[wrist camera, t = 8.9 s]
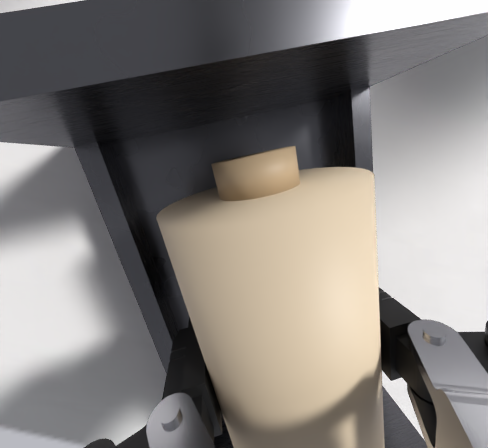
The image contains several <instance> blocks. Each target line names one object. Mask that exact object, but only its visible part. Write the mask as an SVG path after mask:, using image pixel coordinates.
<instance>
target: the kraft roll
mask: <svg viewBox="0 0 488 448" xmlns="http://www.w3.org/2000/svg"><path fill="white" fill-rule="evenodd" d="M211 165H212V169H213V173H214V177H215V181H216V185H217V187H215V188H212V189H208V190H205V191H202V192H199V193H196V194H194V195H191V196H188V197H186V198H183V199H181V200H179V201H176V202H174V203H172V204H170V205H169V206H167V207H165V208H164V209H163V210H161V211H160V212H159V213H158V214H157V217H156V219H157V222H158V225H159V228H160V231H161V234H162V236H163V239H164V242H165V245H166V248H167V251H168V254H169V257H170V260H171V263H172V266H173V269H174V272H175V275H176V278H177V281H178V284H179V287H180V290H181V293H182V296H183V299H184V302H185V305H186V308H187V311H188V314H189V317H190V320H191V322H192V325H193V328H194V331H195V334H196V337H197V340H198V343H199V346H200V349H201V352H202V355H203V358H204V361H205V364H206V367H207V370H208V373H209V376H210V379H211V382H212V385H213V388H214V391H215V393H216V396H217V399H218V402H219V405H220V408H221V411H222V414H223V417H224V420H225V423H226V426H227V429H228V432H229V435H230V438H231V441H232V444H233V447H234V448H385V444H384V418H383V392H382V366H381V339H380V313H379V287H378V261H377V234H376V208H375V182H374V174H373V173H372V172H371V171H369V170H366V169H363V168H355V167H325V168H312V169H303V170H298V163H297V155H296V148H295V146H290V147H284V148H279V149H274V150H269V151H264V152H259V153H254V154H250V155H245V156H241V157H236V158H232V159H228V160H224V161H220V162H216V163H213V164H211Z"/></svg>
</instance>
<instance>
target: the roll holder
mask: <svg viewBox="0 0 488 448" xmlns="http://www.w3.org/2000/svg"><path fill="white" fill-rule="evenodd" d="M487 35H488V0H85V1H78V2H71V3H65V4H58V5H52V6H45V7H39V8H32V9H26V10H19V11H13V12H6V13H0V142H7V143H20V144H34V145H47V146H61V147H74V148H75V150H76V152H77V155H78V157H79V160H80V162H81V164H82V167H83V169H84V172H85V174H86V177H87V179H88V182H89V184H90V187H91V189H92V192H93V194H94V196H95V199H96V201H97V204H98V206H99V209H100V211H101V214H102V216H103V219H104V221H105V223H106V226H107V228H108V231H109V233H110V236H111V238H112V241H113V243H114V246H115V248H116V250H117V253H118V255H119V258H120V260H121V263H122V265H123V268H124V270H125V273H126V275H127V277H128V280H129V282H130V285H131V287H132V290H133V292H134V295H135V297H136V300H137V302H138V305H139V307H140V309H141V312H142V314H143V317H144V319H145V322H146V324H147V327H148V329H149V332H150V334H151V336H152V339H153V341H154V344H155V346H156V349H157V351H158V354H159V356H160V359H161V361H162V363H163V366H164V368H165V371H166V373H167V371H168V365H169V362H170V354H171V349H172V344H173V340H174V338H175V336H176V335H177V333H178V332H179V330H181V329H184V328H188V322H189V314H188V311H187V308H186V305H185V302H184V299H183V296H182V293H181V290H180V287H179V284H178V281H177V278H176V275H175V272H174V269H173V266H172V263H171V260H170V257H169V254H168V251H167V248H166V245H165V242H164V239H163V236H162V234H161V231H160V228H159V225H158V222H157V219H156V217H157V214H158V213H159V212H160V211H161V210H163V209H164V208H165V207H167V206H169V205H170V204H172V203H174V202H176V201H179V200H181V199H183V198H186V197H188V196H191V195H194V194H196V193H199V192H202V191H205V190H208V189H212V188H215V187H217V185H216V181H215V177H214V173H213V169H212V165H211V164H213V163H216V162H220V161H224V160H228V159H232V158H236V157H241V156H245V155H250V154H254V153H259V152H264V151H269V150H274V149H279V148H284V147H290V146H295V148H296V155H297V163H298V170H303V169H312V168H325V167H355V168H363V169H366V170H369V171H371V172H372V173H373V161H372V136H371V111H370V86H372V85H374V84H377V83H379V82H381V81H384V80H386V79H388V78H390V77H393V76H395V75H397V74H400V73H402V72H404V71H406V70H409V69H411V68H413V67H416V66H418V65H420V64H423V63H425V62H427V61H429V60H432V59H434V58H436V57H439V56H441V55H443V54H446V53H448V52H450V51H452V50H455V49H457V48H459V47H462V46H464V45H466V44H469V43H471V42H473V41H475V40H478V39H480V38H482V37H485V36H487ZM382 392H383V418H384V444H385V448H428V447H427V445H426V442H425V441H424V439H423V438H422V437H421V435H420V434H419V433H418V431H417V430H416V429H415V427H414V426H413V425H412V424H411V422H410V421H409V420H408V418H407V417H406V416H405V414H404V413H403V412H402V411H401V409H400V408H399V407H398V405H397V404H396V403H395V401H394V400H393V399H392V398H391V396H390V395H389V394H388V392H387V391H386V390H385V388H384V387H383V386H382ZM221 419H222V435H219V436H216V437H214V446H215V448H234V447H233V444H232V441H231V438H230V435H229V432H228V429H227V426H226V423H225V420H224V417H223V414H222V411H221Z"/></svg>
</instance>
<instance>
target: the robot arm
mask: <svg viewBox="0 0 488 448" xmlns="http://www.w3.org/2000/svg"><path fill="white" fill-rule="evenodd" d="M379 313H380V339H381V366H382V370H383V372H384V373H385V374H386V375H387V377H388V378H389V379H390V380H391V381H392V380H395V379H398V378H401V377H402V378H403V379H404V380H405V381H406V382H407V390H408V394H409V397H410V400H411V403H412V405H413V408H414V411H415V414H416V417H417V419H418V422H419V425H420V428H421V431H422V433H423V436H424V439H425V442H426V445H427V447H428V448H488V321H487V323H486V328H485V332H456V331H455V330H454V329H452V328H451V327H449V326H447V325H445V324H443V323H440V322H437V321H433V320H421V319H420V318H419V317H417V316H416V315H415V314H413V313H412V312H411V311H409V310H408V309H407V308H406V307H404V306H403V305H402V304H400V303H399V302H398V301H396V300H395V299H394V298H391V296H390V295H388V294H387V293H386V292H384V291H383V290H382V289H380V288H379ZM219 435H222V419H221V408H220V405H219V402H218V399H217V396H216V393H215V391H214V388H213V385H212V382H211V379H210V376H209V373H208V370H207V367H206V364H205V361H204V358H203V355H202V352H201V349H200V346H199V343H198V340H197V337H196V334H195V331H194V328H193V325H192V322H191V320H190V317H189V322H188V328H184V329H181V330H179V332H178V333H177V335H176V336H175V338H174V340H173V344H172V349H171V354H170V362H169V365H168V371H167V376H166V382H165V387H164V393H163V398H162V401H161V402H160V403H159V404H158V405H157V406H156V407H155V408H154V410H153V411H152V413H151V415H150V417H149V419H148V422H147V425H146V426H145V427H143V428H142V429H141V430H140V431H138V432H137V433H135V434H134V435H132V436H131V437H129V438H128V439H126V440H124V441H123V442H121V443H120V444H118V445H117V446H115V444H114V443H113V442H112V441H111V440H109V439H99V440H96V441H94V442H92V443H90V444H88V445H87V446H86V447H84V448H215V446H214V437H216V436H219Z"/></svg>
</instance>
